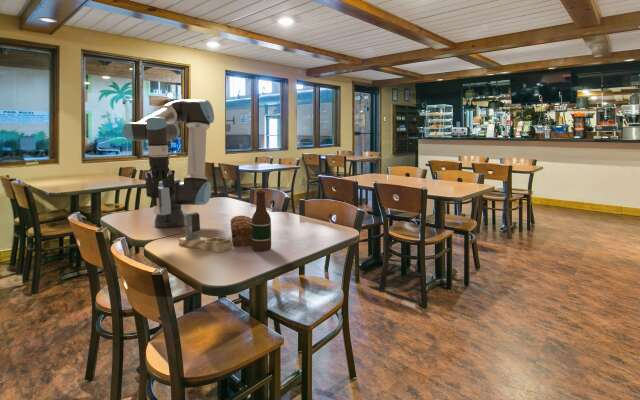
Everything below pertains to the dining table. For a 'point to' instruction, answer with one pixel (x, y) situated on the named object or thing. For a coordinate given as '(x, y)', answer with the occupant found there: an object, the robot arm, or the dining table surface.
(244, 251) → the dining table surface
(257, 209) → the beer bottle
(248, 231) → the bread
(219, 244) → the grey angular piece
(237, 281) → the dining table surface
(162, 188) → the block
